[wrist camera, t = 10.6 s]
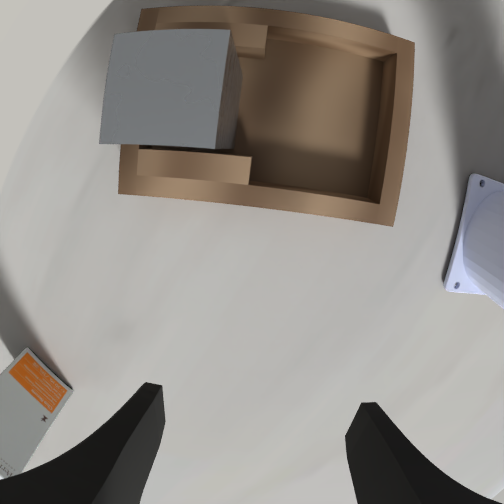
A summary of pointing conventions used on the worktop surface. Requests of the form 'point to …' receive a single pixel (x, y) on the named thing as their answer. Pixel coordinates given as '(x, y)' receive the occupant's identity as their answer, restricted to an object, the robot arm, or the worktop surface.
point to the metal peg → (172, 89)
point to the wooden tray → (293, 118)
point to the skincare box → (27, 409)
